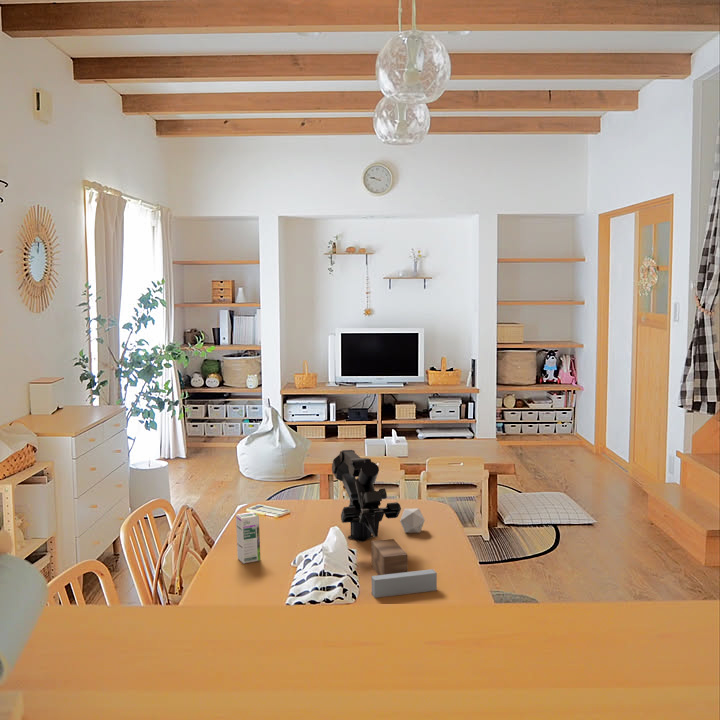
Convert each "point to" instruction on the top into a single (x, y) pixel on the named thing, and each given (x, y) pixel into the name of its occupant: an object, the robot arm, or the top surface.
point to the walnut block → (388, 557)
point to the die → (412, 520)
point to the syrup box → (248, 537)
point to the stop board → (404, 583)
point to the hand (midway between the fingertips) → (376, 536)
